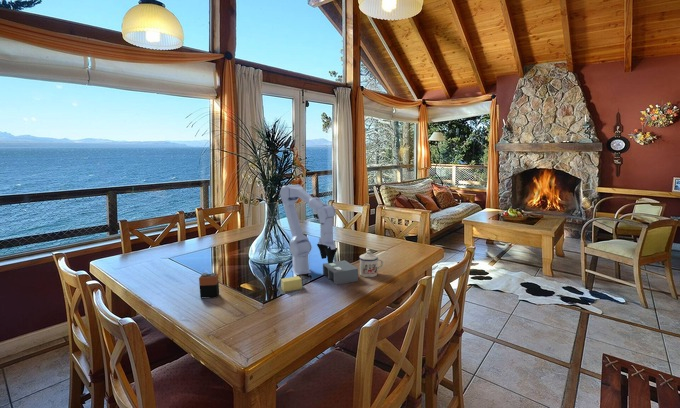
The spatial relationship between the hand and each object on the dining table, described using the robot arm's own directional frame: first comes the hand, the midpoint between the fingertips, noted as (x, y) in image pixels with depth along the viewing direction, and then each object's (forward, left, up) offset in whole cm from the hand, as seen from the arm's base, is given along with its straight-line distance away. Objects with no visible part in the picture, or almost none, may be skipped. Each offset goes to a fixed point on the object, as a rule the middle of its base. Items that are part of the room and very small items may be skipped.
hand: (327, 260), depth 159 cm
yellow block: (+3, -18, -9) cm, 21 cm away
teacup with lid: (+1, +23, -10) cm, 25 cm away
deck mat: (+3, -18, -10) cm, 21 cm away
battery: (-6, -51, -10) cm, 52 cm away
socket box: (-1, +7, -10) cm, 12 cm away
